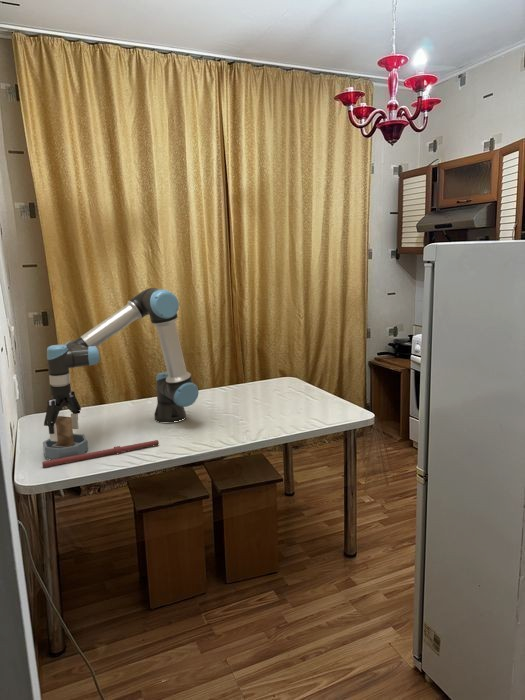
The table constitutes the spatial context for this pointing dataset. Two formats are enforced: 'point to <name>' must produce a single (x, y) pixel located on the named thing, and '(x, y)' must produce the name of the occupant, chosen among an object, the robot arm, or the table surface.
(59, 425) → the flat wood plank
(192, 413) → the table surface
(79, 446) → the octagonal blue tray
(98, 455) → the rolling pin
